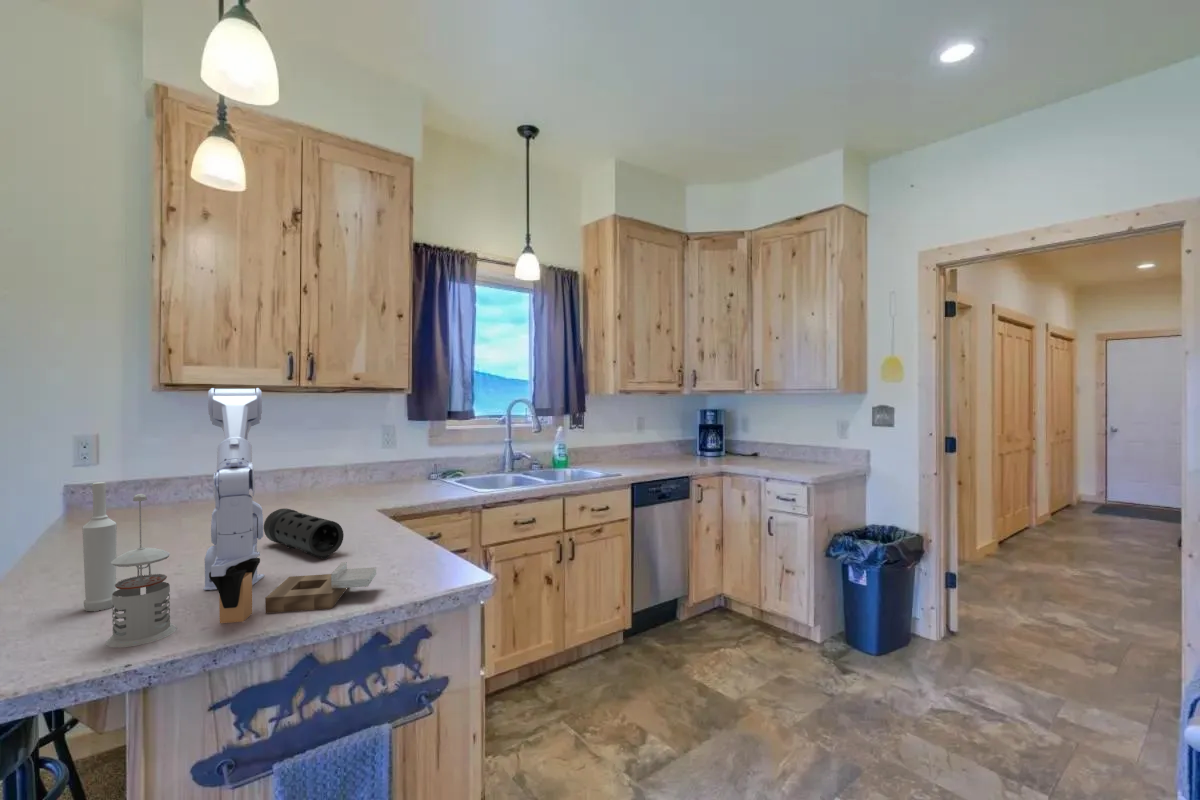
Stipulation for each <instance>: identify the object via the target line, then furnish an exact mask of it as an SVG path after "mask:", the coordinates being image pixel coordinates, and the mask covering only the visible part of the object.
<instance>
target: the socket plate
mask: <svg viewBox="0 0 1200 800" xmlns="http://www.w3.org/2000/svg"><path fill="white" fill-rule="evenodd" d="M331 574H332V573H327V574H312V575H296V576H295V575H294V576H289V577H287V578H286V579H285V580H284V581H282V582H281V583H280V584H279V585H278V586H277V587H276V588H275V589H274V590H272V591H271V592H270V593H269V594H268V595H267V596H266V597H265V605H264V606H265V607H264V608H265V614H274V613H287V612H300V611H301V610H303V611H312V610H313V611H314V610H326V609H327V610H328V609H329V610H330V609H333V608H334V606H335V605H336V604H337V603H338V601H339V600H340V599H341V597H342V596H343V595H342V594H344V593H345V592H346V591H347V589H346V588H335V589H331ZM345 590H346V591H345ZM344 591H345V592H344ZM343 592H344V593H343ZM341 595H342V596H341ZM340 596H341V597H340ZM338 599H339V600H338ZM335 603H336V604H335ZM301 612H302V611H301Z"/></svg>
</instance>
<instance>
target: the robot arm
mask: <svg viewBox="0 0 1200 800" xmlns="http://www.w3.org/2000/svg"><path fill="white" fill-rule="evenodd" d="M207 393H208V394H207V409H208V415H209V420H210V421H211V423H212V424H211V425H213V426H216V427H219V428H221V429H222V430H223V433H224V440H221V441H220V443H219V444H218V445H217V451H216V453H217V454H216V455H217V457H216V472H213V476H212V477H213V478H212V492H213V497H214V502H215V503H214V505H215V507H214V508H213V511H212V512H211V520H210V521H211V523H210V540H211V543H212V544H213V545H211V546H209V548H207V551H206V553H205V556H204V587H203V591H211V590H217V592H218V594H219V595H220V598H221V601H222V604H223V607H224V608H236V607H237V606H238V602H239V596H240V588H241V583H242V580H243V577H244V575H245V573H248V572H252V587H253V586H254V585H255V584H256V583H259V581H260V580H261V579H263V578H264V577H265V574H264V573H261V574H259V573H258V566H259V565H260V563H261V558H259V557H260V556H261V551H258V540H259V541H260V540H262V538H263V537H264V514H263V507H262V506H261V504H260V503H258V502H257V501H254V500H253V497H254V495H255V492H256V488H255V487H256V480H255V479H256V478H255V477H256V476H255V472H256V471H255V469H254V464H253V454H252V453H253V450H252V449H253V447H252V444H251V442H250V441H249V439H248V435H249V432H250V430H251V428H252V427H254V426H256V425H258V424H260V421H261V419H262V413H263V400H262V397H263V396H262V395H263V393H262V390H261V389H260V388H259V387H256V388H215V387H211V388H210V389H209V390H208V392H207ZM210 421H209V422H210ZM250 491H252V495H250ZM219 595H218V596H219Z"/></svg>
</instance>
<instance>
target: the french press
mask: <svg viewBox="0 0 1200 800" xmlns="http://www.w3.org/2000/svg"><path fill="white" fill-rule="evenodd" d="M147 500H148V499H147V495H146V494H144V493H138V494H135V495H134V496H133V498H132V501H133V502H138V508H139V512H138V515H139V518H138V519H139V547H138V548H136V549H130V550H128V551H126V552H124V553H122V554H120V555H118V556H116V558H115V559H114V560H113V561H111V563H112V564H113V565H114V566H116V567H119V568H127V567H135V568H136V569H137V576H132V577H127V578H124V579H121V580H120V581H118V582H116V584H115V587H116V591H115V592H114V593H113V594H112V603H113V605H112V608H111V610H112V612H111V613H112V614H111V615H112V616H111V617H112V621H111V622H112V623H111V624H112V634H111V636H110V637H109V638H108V639H107V640H106V641H105V642H106V643H105V644H107V645H106V646H107V647H110V648H130V647H136V646H142V645H145V644H150V643H153V642H156V641H158V640H161V639H164V638H168V637H169V636H170V635H172V634H173V633H175V632H176V630H177V629H178V628H177V626H176V625H175V624H173V623H172V622H171V615H170V614H171V608H170V607H171V601H170V597H171V595H170V592H171V589H170V583H169V582H166V581H165V580H167V578H168V576H167V575H166V574H162V573H152V572H151V564H155V563H158V562H162V561H164V560H167V559H168V558H169V557H170V555H171V553H170V552H169V551H167V550H164V549H162V548H155V547H142V502H143V501H147ZM143 565H144V566H143ZM145 565H146V566H145ZM147 568H148V574H144V575H143V572H142V571H143V569H147ZM142 588H143V589H144V588H145V593H144V594H141V589H142ZM118 612H123V613H118ZM119 619H123V620H120V621H119Z"/></svg>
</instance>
